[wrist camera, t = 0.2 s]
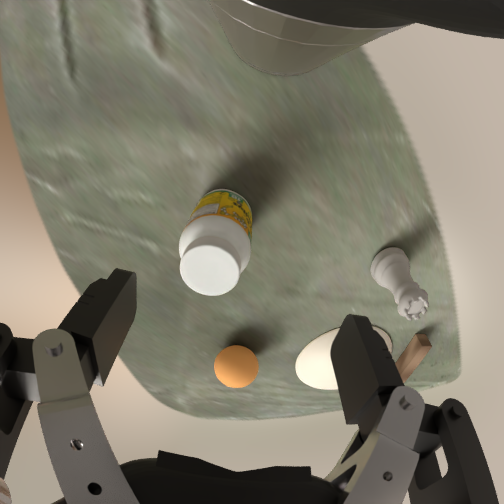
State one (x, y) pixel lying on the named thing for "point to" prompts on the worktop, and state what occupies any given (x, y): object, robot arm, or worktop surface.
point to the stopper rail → (413, 355)
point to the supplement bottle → (216, 242)
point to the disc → (323, 360)
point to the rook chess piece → (399, 282)
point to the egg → (236, 366)
